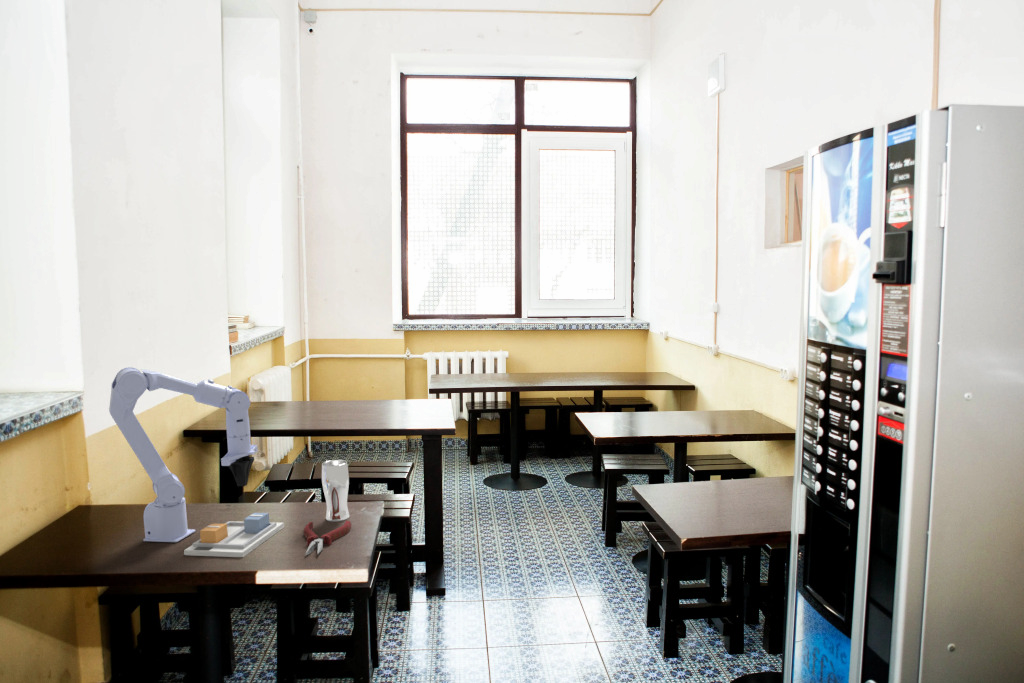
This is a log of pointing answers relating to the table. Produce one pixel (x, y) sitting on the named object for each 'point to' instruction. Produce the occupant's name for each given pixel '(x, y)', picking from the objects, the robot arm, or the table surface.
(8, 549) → the table surface
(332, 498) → the beer glass
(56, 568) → the table surface
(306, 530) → the pliers
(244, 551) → the white flat tray
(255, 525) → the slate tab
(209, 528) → the orange white-striped block
